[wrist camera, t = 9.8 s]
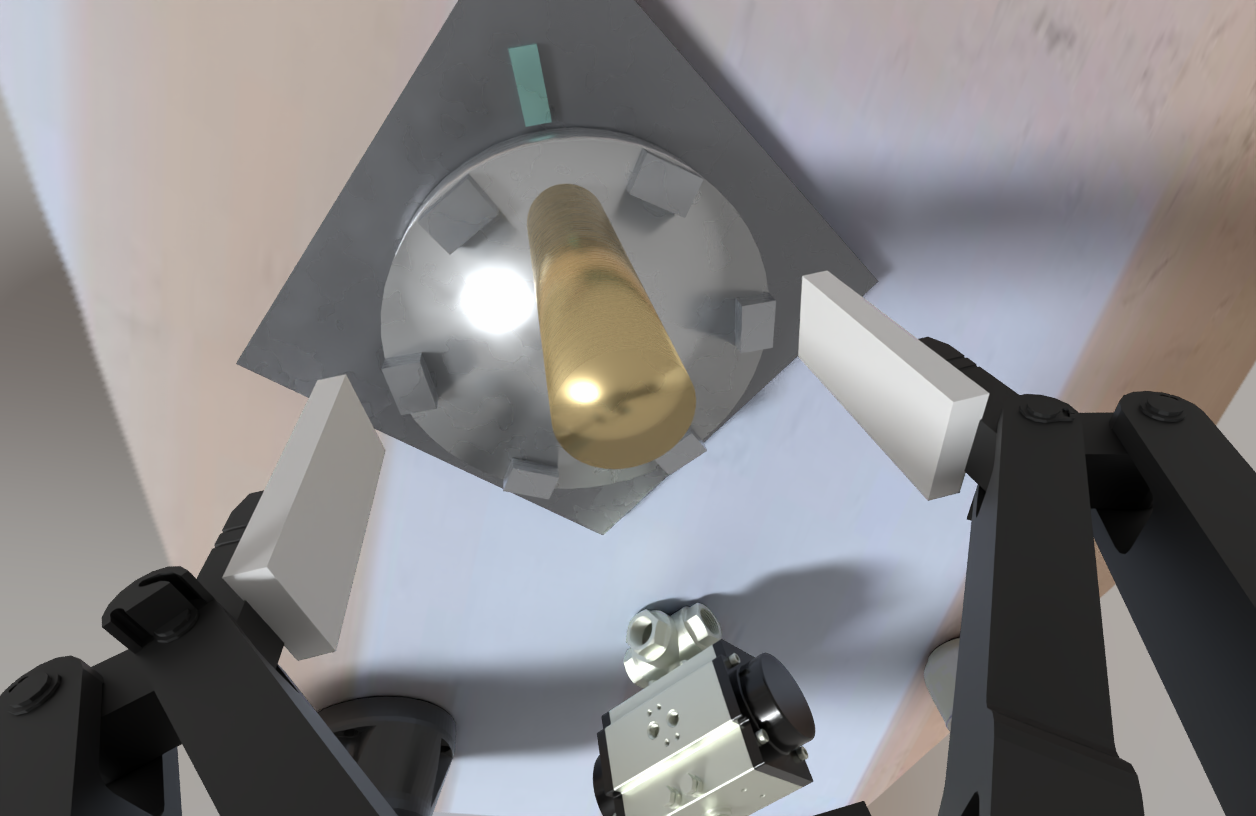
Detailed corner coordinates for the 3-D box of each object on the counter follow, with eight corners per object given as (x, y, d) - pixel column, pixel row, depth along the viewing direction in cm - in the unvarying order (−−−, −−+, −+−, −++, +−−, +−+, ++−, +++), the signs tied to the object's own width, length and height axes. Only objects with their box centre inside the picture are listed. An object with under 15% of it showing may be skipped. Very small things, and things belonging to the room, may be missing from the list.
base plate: (599, 516, 44) (604, 541, 42) (249, 345, 31) (231, 369, 29) (861, 269, 36) (883, 285, 34) (529, -111, 23) (532, -122, 21)
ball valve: (708, 554, 50) (791, 773, 36) (758, 589, 54) (849, 795, 40) (566, 654, 55) (589, 881, 41) (623, 678, 59) (661, 889, 45)
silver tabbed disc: (802, 337, 35) (1006, 560, 21) (556, 502, 40) (589, 779, 25) (618, 23, 24) (790, 50, 10) (302, 303, 28) (107, 602, 14)
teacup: (982, 660, 74) (1028, 723, 67) (904, 683, 73) (943, 748, 67) (1007, 600, 65) (1062, 665, 59) (919, 625, 65) (965, 693, 58)
